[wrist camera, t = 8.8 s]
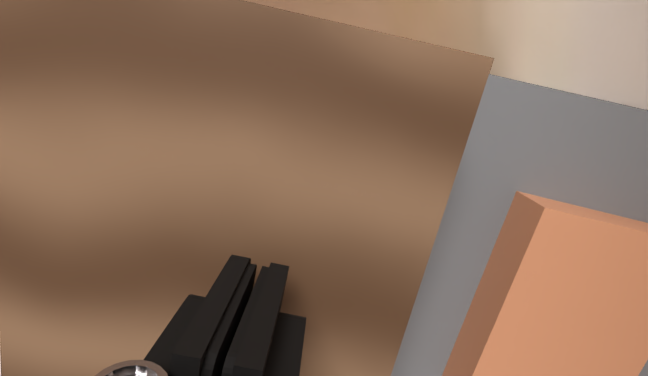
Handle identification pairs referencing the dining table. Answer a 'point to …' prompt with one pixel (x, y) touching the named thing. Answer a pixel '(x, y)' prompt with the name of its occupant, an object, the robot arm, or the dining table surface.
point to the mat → (528, 177)
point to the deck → (217, 173)
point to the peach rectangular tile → (558, 296)
